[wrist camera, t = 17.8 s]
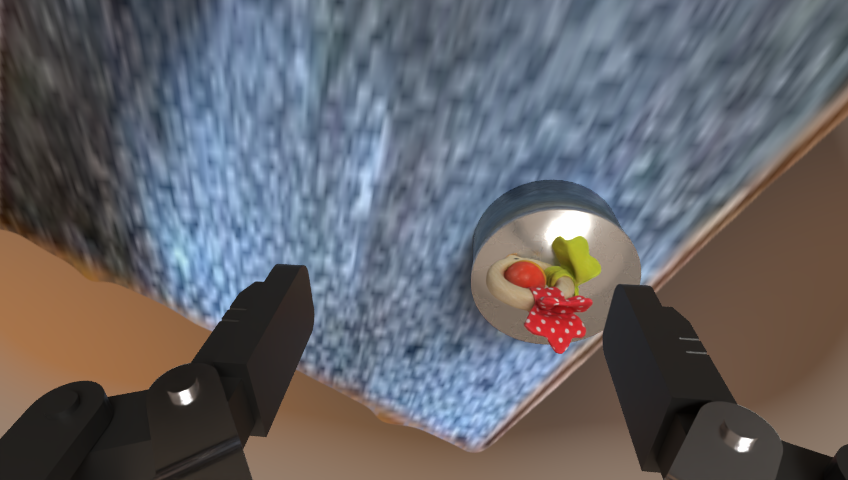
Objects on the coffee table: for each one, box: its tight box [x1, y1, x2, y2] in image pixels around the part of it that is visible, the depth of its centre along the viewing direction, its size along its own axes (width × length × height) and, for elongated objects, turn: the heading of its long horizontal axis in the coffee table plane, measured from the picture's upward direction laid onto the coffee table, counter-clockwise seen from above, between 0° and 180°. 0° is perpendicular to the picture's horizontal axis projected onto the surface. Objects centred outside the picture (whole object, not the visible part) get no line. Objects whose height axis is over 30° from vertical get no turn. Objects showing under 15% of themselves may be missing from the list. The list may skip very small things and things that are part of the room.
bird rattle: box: [486, 236, 601, 354], centre depth 38 cm, size 6×11×9 cm
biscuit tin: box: [471, 180, 641, 344], centre depth 47 cm, size 15×15×7 cm
